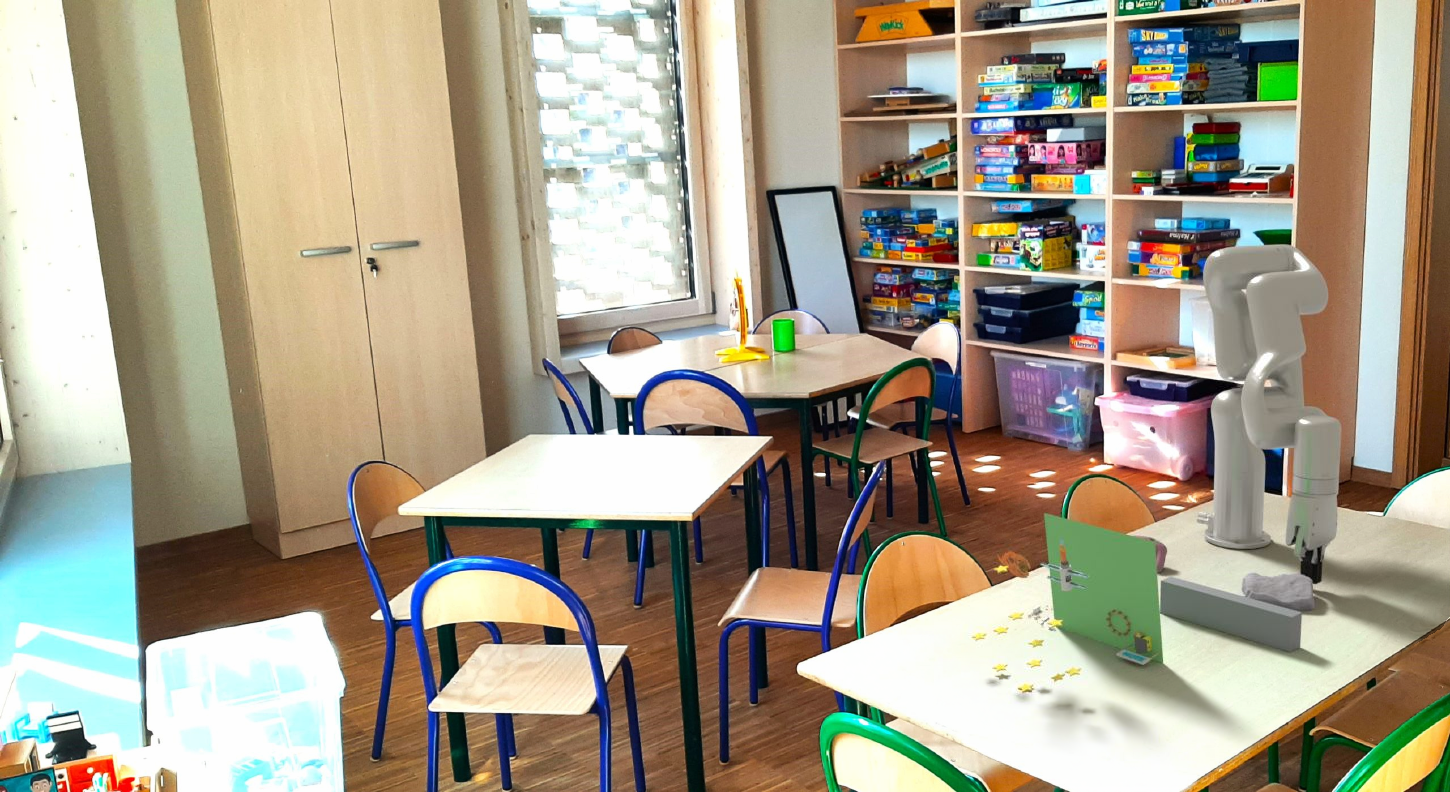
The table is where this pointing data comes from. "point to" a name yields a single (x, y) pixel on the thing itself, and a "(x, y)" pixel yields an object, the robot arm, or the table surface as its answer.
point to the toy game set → (1098, 589)
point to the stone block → (1280, 590)
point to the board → (1231, 613)
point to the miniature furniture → (1039, 616)
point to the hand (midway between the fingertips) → (1310, 581)
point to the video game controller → (1158, 552)
